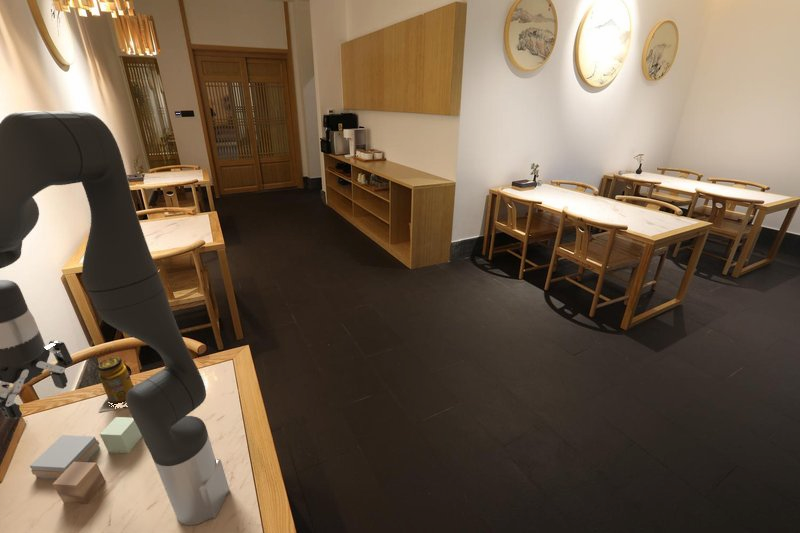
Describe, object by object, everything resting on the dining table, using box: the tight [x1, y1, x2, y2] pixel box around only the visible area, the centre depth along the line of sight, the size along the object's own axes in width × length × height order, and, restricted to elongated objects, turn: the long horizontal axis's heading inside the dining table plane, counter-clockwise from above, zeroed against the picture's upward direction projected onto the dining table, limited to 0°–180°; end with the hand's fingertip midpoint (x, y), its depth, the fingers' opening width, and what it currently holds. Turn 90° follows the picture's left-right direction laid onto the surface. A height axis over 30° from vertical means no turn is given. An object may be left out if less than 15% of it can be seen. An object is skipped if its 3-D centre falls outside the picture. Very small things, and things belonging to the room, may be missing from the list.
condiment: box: [97, 356, 135, 413], centre depth 99 cm, size 7×8×12 cm
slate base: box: [29, 434, 101, 479], centre depth 84 cm, size 8×8×4 cm
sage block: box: [99, 416, 143, 454], centre depth 88 cm, size 5×5×6 cm
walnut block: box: [52, 461, 106, 505], centre depth 77 cm, size 5×5×6 cm
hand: (39, 401), depth 74 cm, fingers open, 8 cm apart
